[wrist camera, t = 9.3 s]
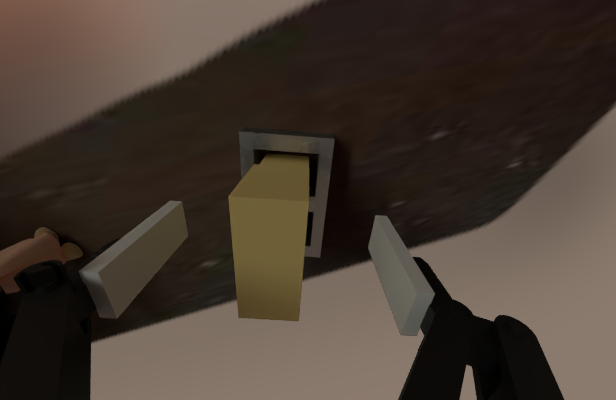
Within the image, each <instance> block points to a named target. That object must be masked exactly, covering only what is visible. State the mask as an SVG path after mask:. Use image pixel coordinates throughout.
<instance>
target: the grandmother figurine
mask: <svg viewBox="0 0 616 400" xmlns="http://www.w3.org/2000/svg"><path fill="white" fill-rule="evenodd" d="M58 240H59V237H58V235H57V234H56V233H55V232H54V231H52V230H50V229H48V228H45V227H41V228H39V229H38V230H37V231H36V232H35V236H34V239H32V238H29V239H26V240H24V241H21V242H19V243H17V244H15V245H12V246H10V247H8V248H6V249H4V250H2V251H0V286H1V287H2V288H3V290H4V291H5V293H6V294H8V293H14V292H18V291H20V289H19V287H18V285H17V284H16V282H15V281H14V279H13V278H14V276H15V275H16V274H17V273H18V272H20V271H21V270H23V269H25V268H27V267H29V266H31V265H33V264H36V263H39V262H43V261H48V260H59V261H62V263H63V264H64V263H66V261H69V260H73V259H76V258H79V257H81V256H82V255H83V252H82V250H81V249H80V248H79V247H78V246H77V245H75V244H73V243H65V244H63V245H62V246H61V247H60V243H59V241H58Z"/></svg>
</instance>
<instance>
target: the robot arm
mask: <svg viewBox="0 0 616 400" xmlns="http://www.w3.org/2000/svg"><path fill="white" fill-rule="evenodd" d="M187 237H188V232H187V227H186V221H185V216H184V210H183V205H182V202H181V201H169V202H168V203H167V204H165V205H164V206H163V207H162V208H160V209H159V210H158V211H156V212H155V213H154V214H152V215H151V216H150V217H149V218H147V219H146V220H145V221H143V222H142V223H141V224H139V225H138V226H137V227H136V228H134V229H133V230H132V231H130V232H129V233H128V234H126V235H125V236H124V237H123V238H118V239H116V240H114V241H112V242H110V243H108V244H106V245H105V246H103V247H102V248H101V249H99V251H97V252H95V253H94V254H93V255H92V256H91V257H89V258H87V259H86V260H85V261H83V262H82V263H81V264H79V265H78V266H77V267H75V268H74V269H72V270H71V271H70V272H68V273H67V271H66V269H65V267H64V265H63V263H62V261H59V260H48V261H43V262H39V263H36V264H33V265H31V266H29V267H27V268H25V269H23V270H21V271H20V272H18V273H17V274H16V275H15V276H14V278H13V279H14V281H15V282H16V284H17V285H18V287H19V289H20V290H21V291H20V292H14V293H8V294H6V293H5V291H4V290H3V288H2V287H1V286H0V400H90V376H91V375H90V373H91V320H90V317H89V315H90V314H91V313H92V312H93V311H94V310H95V309H96V310H97V312H98V314H99V316H100V318H114V319H117V318H118V317H119V316H120V315H121V314H122V313H123V311H124V310H125V309H126V308H127V307H128V306H129V304H130V303H131V302H132V301H133V300H134V298H135V297H136V296H137V295H138V294H139V293H140V291H141V290H142V289H143V288H144V287H145V286H146V284H147V283H148V282H149V281H150V280H151V279H152V277H153V276H154V275H155V274H156V273H157V272H158V270H159V269H160V268H161V267H162V266H163V265H164V263H165V262H166V261H167V260H168V259H169V258H170V256H171V255H172V254H173V253H174V252H175V251H176V249H177V248H178V247H179V246H180V245H181V244H182V242H183V241H184V240H185V239H186V238H187ZM368 249H369V252H370V254H371V257H372V260H373V262H374V265H375V268H376V271H377V273H378V276H379V278H380V281H381V284H382V287H383V289H384V292H385V295H386V297H387V300H388V303H389V305H390V308H391V311H392V313H393V316H394V319H395V321H396V324H397V327H398V329H399V332H400V334H401V335H407V336H417V334H418V332H419V329H420V328H421V330H422V332H423V334H424V338H423V340H422V342H421V345H420V347H419V349H418V352H417V355H416V357H415V360H414V362H413V365H412V367H411V369H410V372H409V375H408V377H407V379H406V382H405V384H404V387H403V389H402V391H401V394H400V396H399V399H398V400H459V398H460V393H461V388H462V383H463V378H464V373H465V368H466V365H469V366H472V369H473V376H474V382H475V390H476V396H477V400H564V398H563V396H562V393H561V391H560V389H559V387H558V384H557V382H556V380H555V378H554V375H553V373H552V371H551V369H550V366H549V364H548V362H547V360H546V357H545V355H544V353H543V351H542V348H541V346H540V344H539V342H538V339H537V337H536V336H535V334H534V333H533V332H532V330H530V329H529V328H528V327H527V326H526V325H525V324H523V323H522V322H520V321H519V320H517V319H515V318H512V317H510V316H506V315H499V316H497V317H496V318H495V320H494V322H493V321H490V320H487V319H483V318H480V317H477V316H474V315H473V314H472V312H471V311H470V310H469V309H468V308H467V307H466V306H465V305H463V304H462V303H460V302H458V301H456V300H452V298H451V296H450V295H449V294H448V292H447V291H446V289H445V288H444V287H443V285H442V284H441V282H440V281H439V279H438V278H437V276H436V275H435V273H434V272H433V270H432V269H431V267H430V266H429V265H428V263H426V262H425V261H424V260H423V259H421V258H420V257H412V256H411V254H410V253H409V251H408V249H407V248H406V246H405V245H404V243H403V241H402V240H401V238H400V237H399V235H398V233H397V232H396V230H395V229H394V227H393V225H392V224H391V222H390V221H389V219H388V217H387V216H379V215H376V216H375V220H374V224H373V229H372V233H371V237H370V242H369V246H368Z"/></svg>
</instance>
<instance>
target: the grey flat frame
mask: <svg viewBox="0 0 616 400" xmlns="http://www.w3.org/2000/svg"><path fill="white" fill-rule="evenodd" d="M239 140H240V159H241V177H242V179H243V177H244V176H245V175H246V174H247V172H248V171H249V170H250V168H251V167H252V166H253V165H254V164H256V165H259V164H260V158H259V149H261V150H274V151H287V152H300V153H313V154H318V159H317V169H316V180H315V187H309V206H308V212H312V222H311V233H306V241H305V253H304V256H305V257H320V254H321V246H322V238H323V229H324V221H325V213H326V205H327V197H328V189H329V181H330V173H331V165H332V156H333V148H334V140H335V139H334V137H333V135H332V134H326V133H313V132H300V131H288V130H275V129H262V128H250V127H246V128H244V129H243V130H241V131H239Z"/></svg>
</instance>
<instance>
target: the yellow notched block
mask: <svg viewBox="0 0 616 400" xmlns="http://www.w3.org/2000/svg"><path fill="white" fill-rule="evenodd" d="M308 206H309V156H296V155H283V154H269V153H267V154H266V156H265V157H264V158H263V160H262V161H261V163H260V164H259V165H256V164H254V165H253V166H252V167H251V168H250V170H249V171H248V172H247V174H246V175H245V176H244V177H243V179H242V180H241V181H240V182H239V184H238V185H237V186H236V187H235V189H234V190H233V191H232V192H231V194H230V195H229V208H230V220H231V232H232V244H233V256H234V268H235V280H236V292H237V304H238V316H239V318H254V319H270V320H288V321H299V312H300V299H301V288H302V277H303V265H304V253H305V241H306V230H307V218H308Z"/></svg>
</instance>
